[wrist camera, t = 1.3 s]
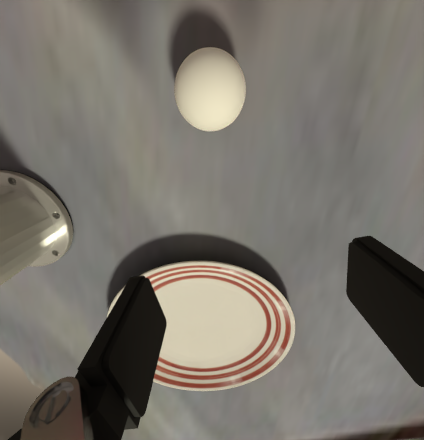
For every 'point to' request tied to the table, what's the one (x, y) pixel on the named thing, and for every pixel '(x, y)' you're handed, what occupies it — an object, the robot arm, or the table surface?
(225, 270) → the dinner plate
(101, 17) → the table surface
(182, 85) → the ball
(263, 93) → the table surface
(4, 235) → the robot arm
